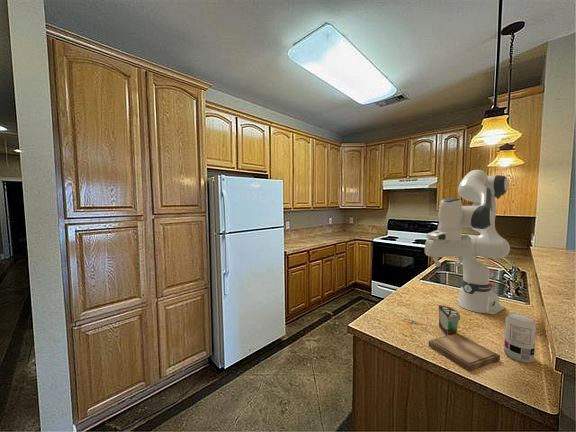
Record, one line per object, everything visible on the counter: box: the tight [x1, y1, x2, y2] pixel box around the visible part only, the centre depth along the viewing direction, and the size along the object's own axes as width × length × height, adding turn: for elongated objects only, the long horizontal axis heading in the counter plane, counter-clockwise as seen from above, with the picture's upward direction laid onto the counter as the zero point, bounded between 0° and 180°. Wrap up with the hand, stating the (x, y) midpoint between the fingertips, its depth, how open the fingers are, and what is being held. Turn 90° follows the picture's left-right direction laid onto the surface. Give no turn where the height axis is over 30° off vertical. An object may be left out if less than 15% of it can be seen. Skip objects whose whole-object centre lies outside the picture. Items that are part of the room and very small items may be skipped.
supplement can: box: [503, 312, 537, 364], centre depth 92 cm, size 8×8×15 cm
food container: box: [437, 304, 461, 336], centre depth 109 cm, size 12×6×10 cm, turn 167°
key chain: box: [402, 318, 431, 333], centre depth 116 cm, size 13×7×1 cm, turn 46°
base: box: [428, 332, 501, 372], centre depth 95 cm, size 16×16×2 cm
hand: (447, 266), depth 110 cm, fingers open, 8 cm apart
